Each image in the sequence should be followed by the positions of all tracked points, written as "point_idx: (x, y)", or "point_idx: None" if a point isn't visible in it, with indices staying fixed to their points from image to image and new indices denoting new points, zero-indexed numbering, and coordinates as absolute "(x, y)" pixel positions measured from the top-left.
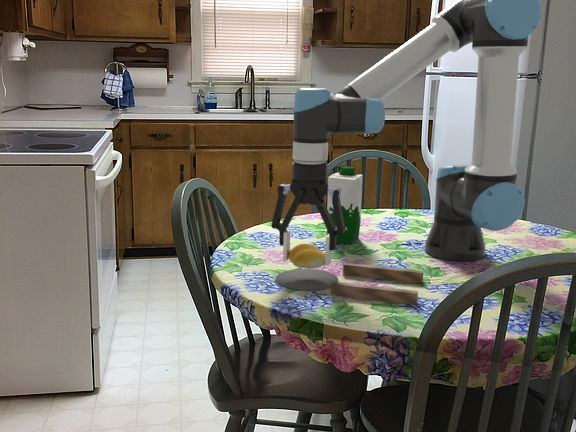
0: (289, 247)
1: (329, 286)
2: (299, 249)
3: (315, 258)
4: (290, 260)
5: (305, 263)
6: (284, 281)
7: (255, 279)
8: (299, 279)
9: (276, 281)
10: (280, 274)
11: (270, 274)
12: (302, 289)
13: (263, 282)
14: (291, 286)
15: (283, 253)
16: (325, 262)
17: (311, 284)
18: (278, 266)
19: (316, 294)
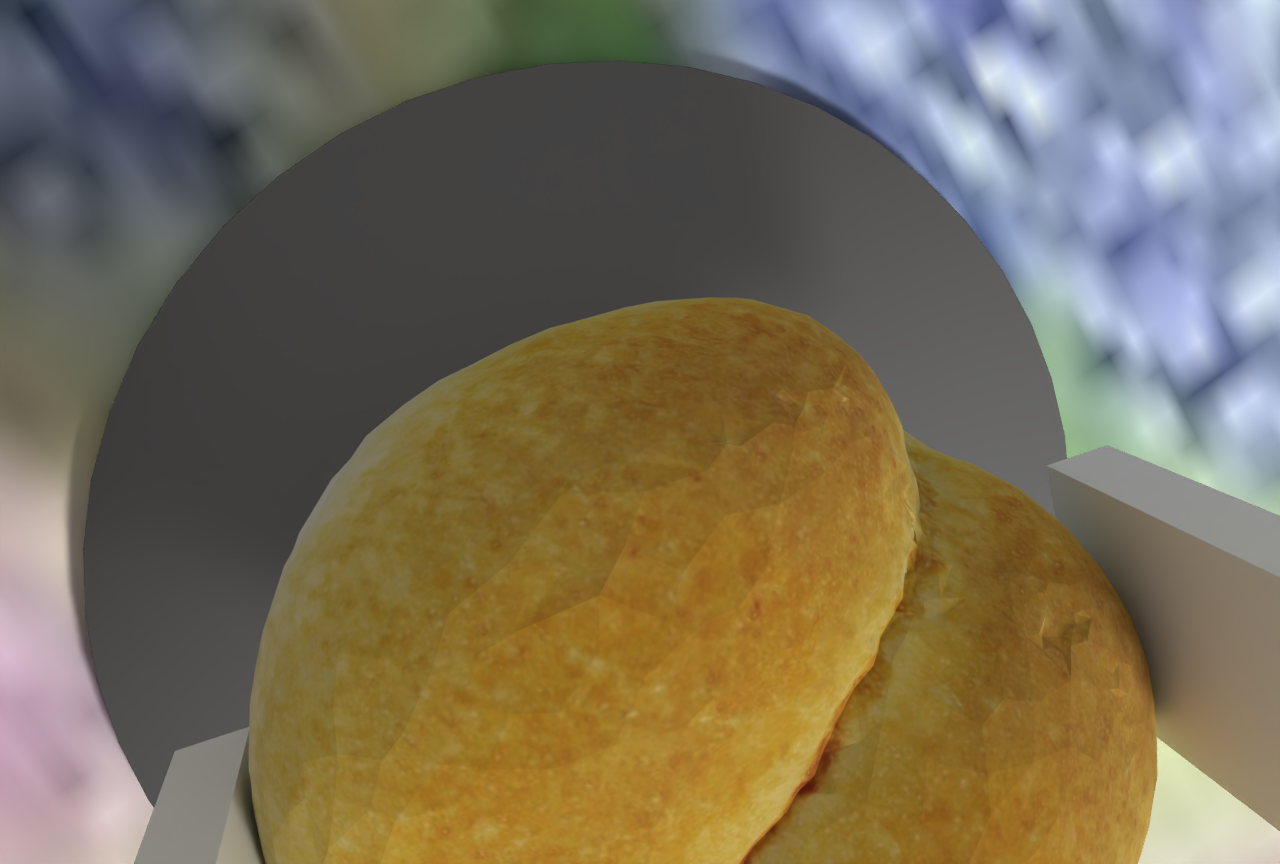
0: (1225, 760)
1: (108, 490)
2: (931, 702)
3: (345, 565)
4: (965, 465)
5: (520, 346)
6: (847, 259)
7: (1262, 137)
8: None
9: (965, 230)
10: (1041, 494)
11: (1172, 451)
12: (413, 99)
13: (1111, 90)
14: (640, 118)
15: (1204, 489)
16: (230, 767)
17: (414, 392)
18: (1217, 785)
19: (111, 77)
